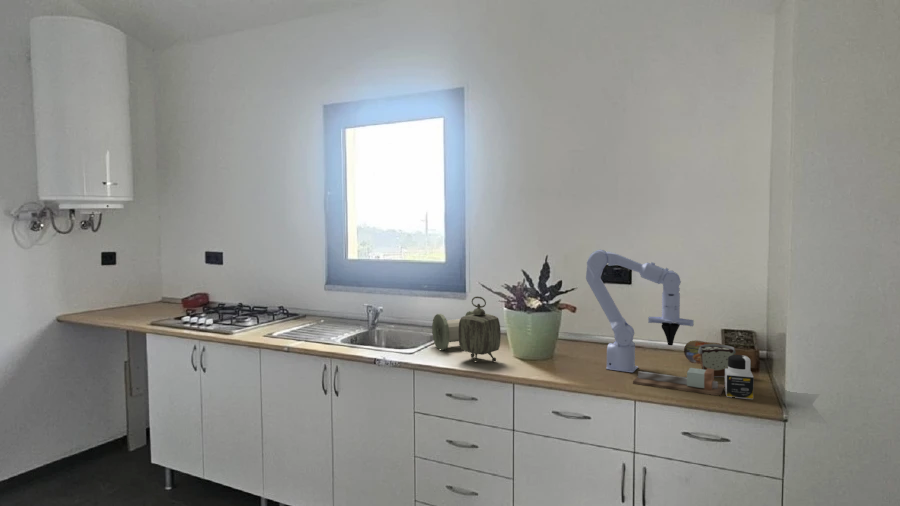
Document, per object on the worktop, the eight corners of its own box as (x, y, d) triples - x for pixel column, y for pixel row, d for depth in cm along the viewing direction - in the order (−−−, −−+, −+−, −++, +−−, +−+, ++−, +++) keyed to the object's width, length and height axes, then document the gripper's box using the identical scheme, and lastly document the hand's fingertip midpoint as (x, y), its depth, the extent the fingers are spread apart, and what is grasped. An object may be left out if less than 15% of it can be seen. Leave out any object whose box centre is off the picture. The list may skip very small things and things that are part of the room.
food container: (725, 371, 192) (726, 343, 191) (735, 376, 186) (735, 347, 185) (691, 372, 191) (691, 344, 191) (699, 377, 185) (700, 348, 185)
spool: (466, 342, 243) (466, 308, 242) (482, 349, 230) (481, 314, 229) (432, 346, 237) (431, 311, 236) (446, 353, 223) (445, 317, 222)
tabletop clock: (500, 361, 209) (500, 297, 207) (486, 366, 202) (485, 299, 201) (471, 356, 219) (471, 293, 217) (456, 360, 212) (456, 296, 210)
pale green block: (686, 385, 173) (687, 372, 172) (689, 381, 177) (690, 367, 177) (704, 388, 170) (704, 374, 170) (706, 383, 175) (707, 369, 175)
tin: (683, 361, 206) (683, 339, 206) (686, 359, 209) (686, 337, 208) (726, 368, 196) (726, 345, 196) (729, 366, 198) (729, 343, 198)
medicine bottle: (726, 397, 165) (727, 358, 164) (724, 390, 171) (725, 352, 170) (753, 399, 162) (754, 360, 161) (750, 392, 168) (751, 354, 168)
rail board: (633, 383, 179) (633, 365, 179) (640, 375, 188) (640, 358, 188) (720, 396, 166) (721, 376, 165) (724, 387, 174) (724, 368, 174)
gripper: (646, 306, 190) (646, 344, 191) (691, 309, 183) (691, 349, 183) (651, 303, 196) (650, 340, 197) (694, 306, 188) (694, 345, 189)
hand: (670, 344), depth 191 cm, fingers closed
